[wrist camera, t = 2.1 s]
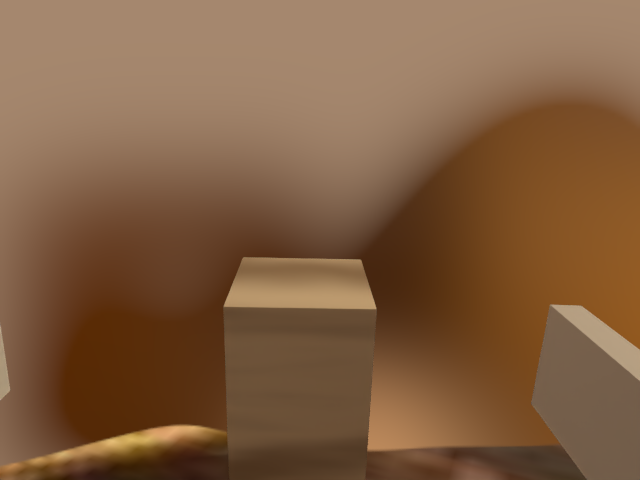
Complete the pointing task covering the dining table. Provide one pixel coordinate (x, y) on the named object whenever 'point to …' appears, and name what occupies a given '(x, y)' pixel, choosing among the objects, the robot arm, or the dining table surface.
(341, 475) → the maple block
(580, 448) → the robot arm
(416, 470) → the dining table surface
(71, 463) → the dining table surface
